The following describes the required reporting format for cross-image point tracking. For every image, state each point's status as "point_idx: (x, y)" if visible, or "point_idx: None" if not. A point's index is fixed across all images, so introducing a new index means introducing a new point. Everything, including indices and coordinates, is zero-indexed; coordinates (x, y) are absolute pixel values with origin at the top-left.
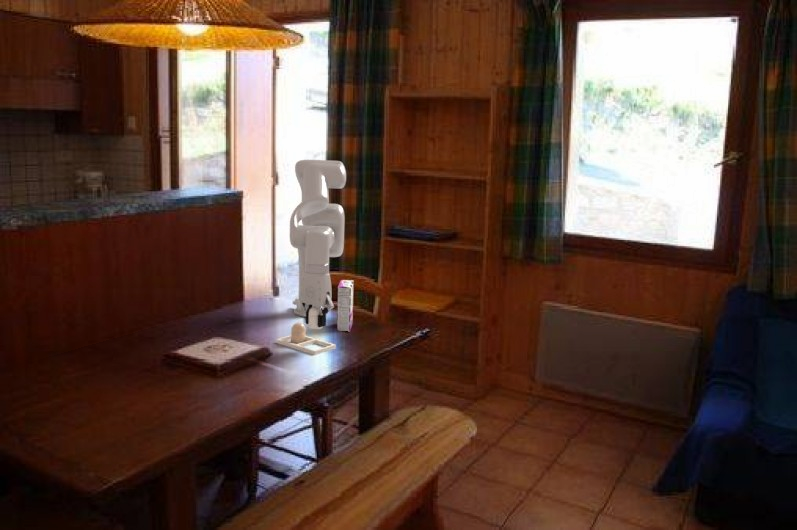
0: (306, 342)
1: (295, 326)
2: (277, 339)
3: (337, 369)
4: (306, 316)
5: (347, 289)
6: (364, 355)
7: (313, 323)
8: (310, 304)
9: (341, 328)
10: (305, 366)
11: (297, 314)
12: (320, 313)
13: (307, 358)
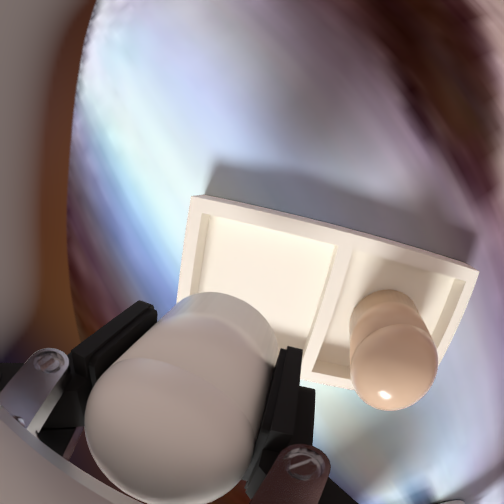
0: (319, 311)
1: (412, 351)
2: (473, 270)
3: (75, 135)
4: (285, 391)
5: None
6: (88, 320)
7: (180, 314)
8: (90, 478)
9: None
10: (176, 73)
11: (455, 501)
12: (52, 364)
13: (226, 162)
